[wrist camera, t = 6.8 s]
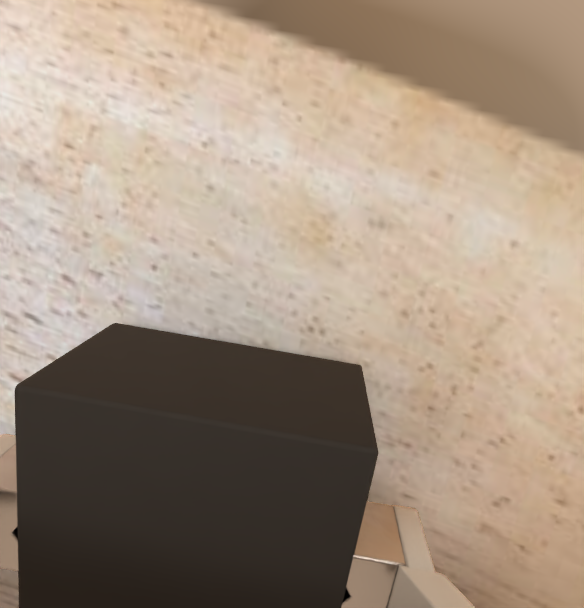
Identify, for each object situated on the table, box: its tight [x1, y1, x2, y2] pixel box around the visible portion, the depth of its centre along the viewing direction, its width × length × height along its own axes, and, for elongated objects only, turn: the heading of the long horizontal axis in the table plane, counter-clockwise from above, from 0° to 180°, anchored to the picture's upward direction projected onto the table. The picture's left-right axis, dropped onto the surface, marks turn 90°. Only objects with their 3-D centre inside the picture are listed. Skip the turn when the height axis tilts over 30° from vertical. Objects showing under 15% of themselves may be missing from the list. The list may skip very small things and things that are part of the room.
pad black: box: [15, 323, 378, 608], centre depth 9 cm, size 6×6×4 cm
